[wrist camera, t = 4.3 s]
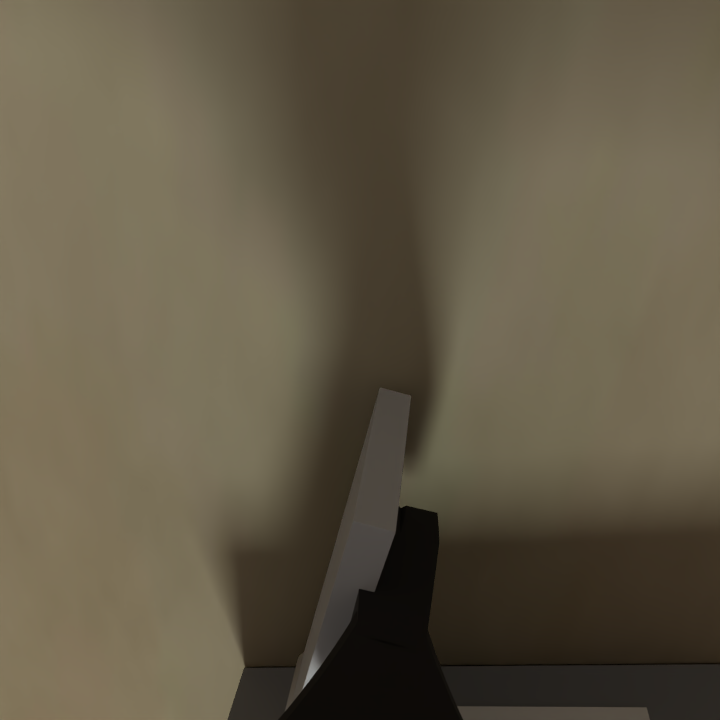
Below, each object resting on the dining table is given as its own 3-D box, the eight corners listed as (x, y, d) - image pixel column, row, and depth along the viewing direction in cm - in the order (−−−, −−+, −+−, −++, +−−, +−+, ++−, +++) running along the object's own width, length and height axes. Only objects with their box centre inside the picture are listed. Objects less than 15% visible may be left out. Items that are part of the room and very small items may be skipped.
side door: (375, 381, 12) (344, 527, 8) (416, 392, 12) (401, 542, 8) (295, 667, 16) (254, 834, 13) (325, 674, 16) (292, 844, 13)
